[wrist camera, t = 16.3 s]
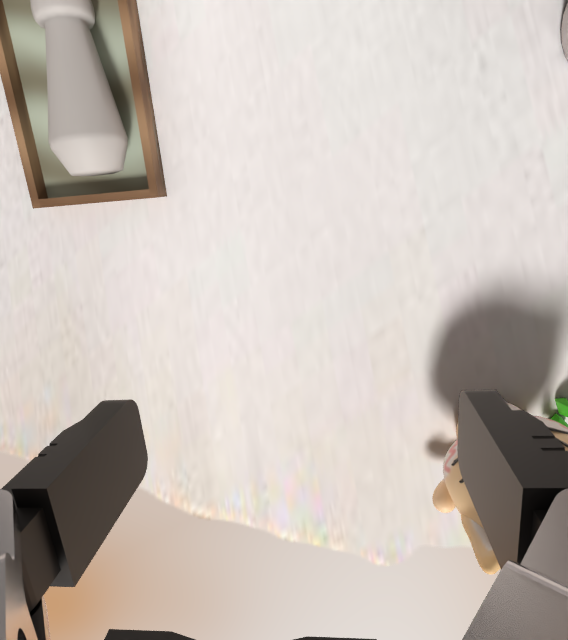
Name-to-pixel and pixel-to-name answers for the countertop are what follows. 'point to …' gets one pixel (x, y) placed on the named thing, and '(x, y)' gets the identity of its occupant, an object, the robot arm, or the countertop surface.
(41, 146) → the tray
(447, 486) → the kitten
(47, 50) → the salt shaker
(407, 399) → the countertop surface
